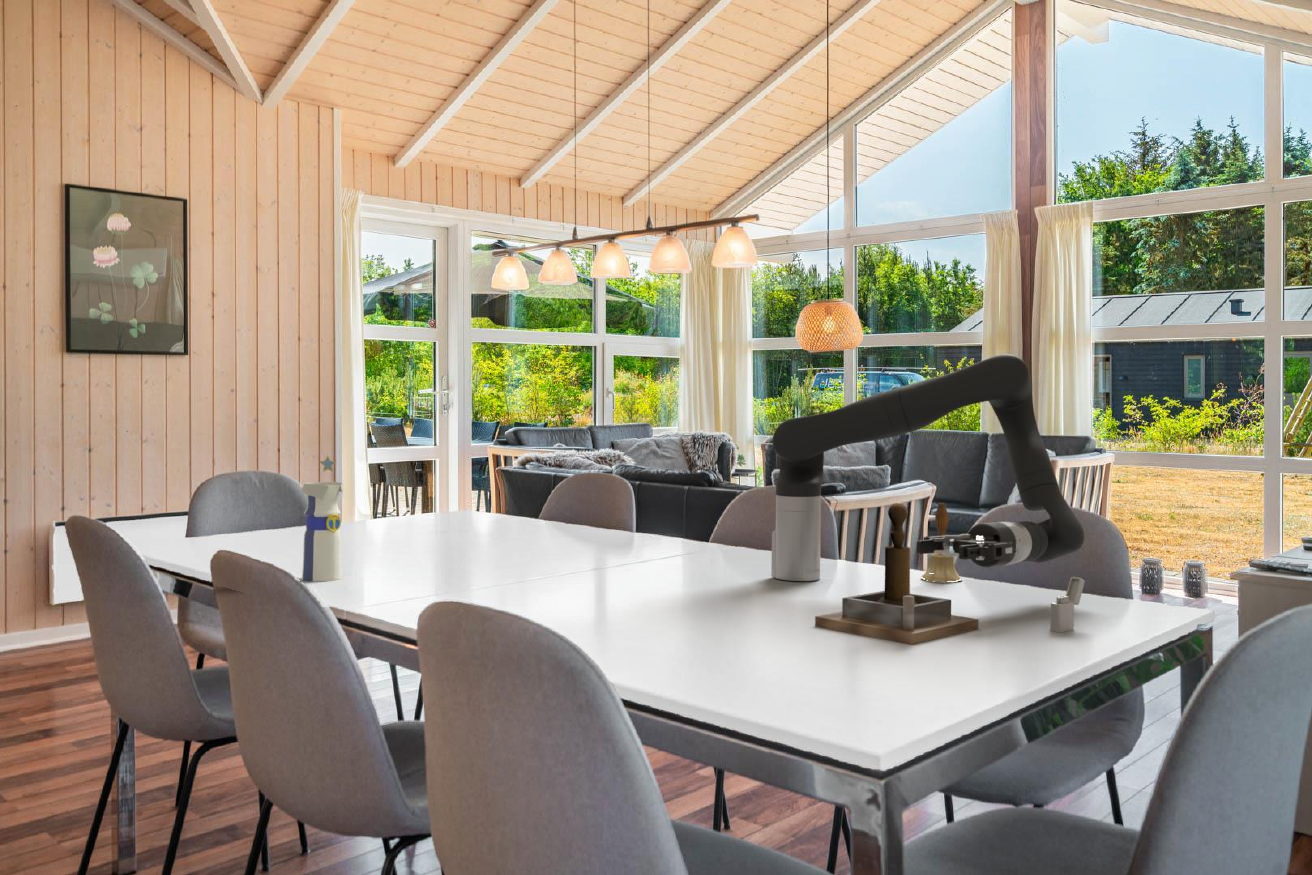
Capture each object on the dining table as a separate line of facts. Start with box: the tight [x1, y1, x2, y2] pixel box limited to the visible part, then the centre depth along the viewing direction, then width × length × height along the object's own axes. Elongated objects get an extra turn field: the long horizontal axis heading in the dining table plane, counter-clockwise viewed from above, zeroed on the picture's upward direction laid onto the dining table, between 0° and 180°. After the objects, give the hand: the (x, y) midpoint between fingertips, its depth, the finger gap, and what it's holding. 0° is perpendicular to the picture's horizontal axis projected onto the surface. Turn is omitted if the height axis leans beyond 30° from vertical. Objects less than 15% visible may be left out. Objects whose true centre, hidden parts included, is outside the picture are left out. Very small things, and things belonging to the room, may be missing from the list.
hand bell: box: [921, 502, 962, 582], centre depth 216 cm, size 8×8×16 cm
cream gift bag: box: [301, 455, 344, 582], centre depth 211 cm, size 8×9×25 cm
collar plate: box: [814, 590, 979, 645], centre depth 164 cm, size 18×18×6 cm
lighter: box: [1049, 576, 1086, 633], centre depth 164 cm, size 7×2×8 cm, turn 128°
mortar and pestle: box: [877, 503, 918, 606], centre depth 164 cm, size 7×6×18 cm
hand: (939, 550), depth 171 cm, fingers open, 8 cm apart
